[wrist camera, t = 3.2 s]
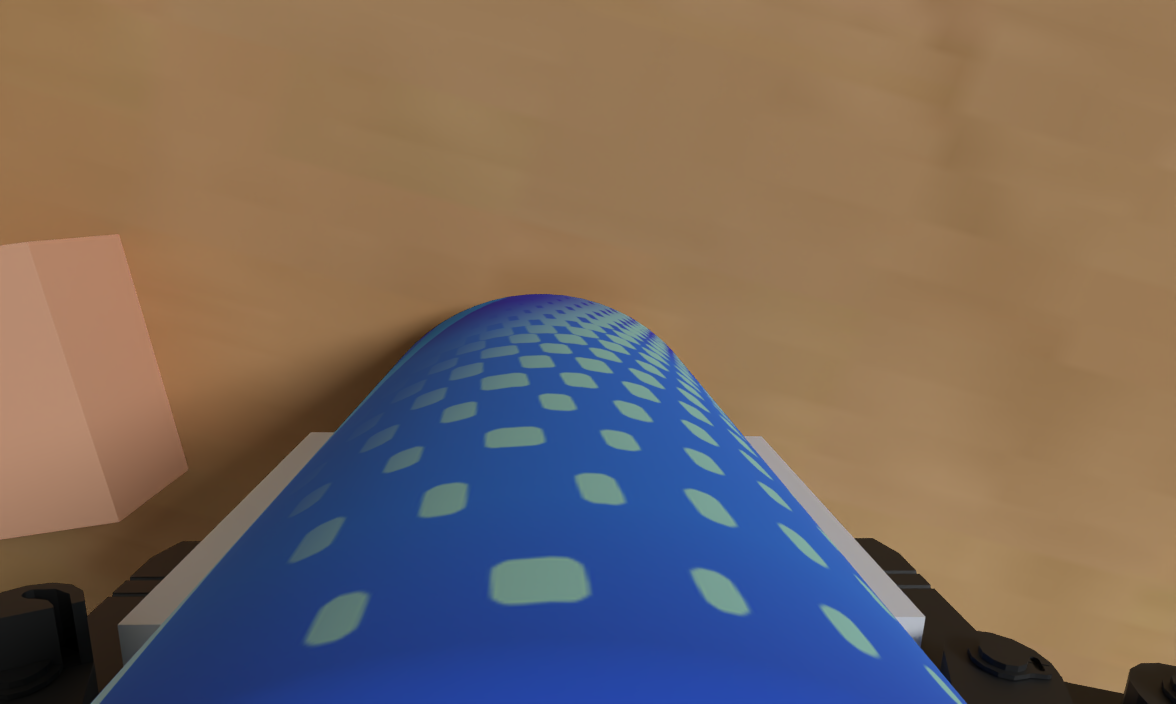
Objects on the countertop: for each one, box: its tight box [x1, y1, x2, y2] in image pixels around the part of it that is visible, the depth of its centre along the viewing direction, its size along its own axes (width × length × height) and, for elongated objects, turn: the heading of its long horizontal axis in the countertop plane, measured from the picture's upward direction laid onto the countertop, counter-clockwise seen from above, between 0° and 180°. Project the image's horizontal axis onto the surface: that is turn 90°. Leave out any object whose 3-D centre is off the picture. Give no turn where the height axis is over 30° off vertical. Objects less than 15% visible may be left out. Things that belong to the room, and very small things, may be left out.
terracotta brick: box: [0, 234, 189, 540], centre depth 15 cm, size 6×3×3 cm, turn 8°
